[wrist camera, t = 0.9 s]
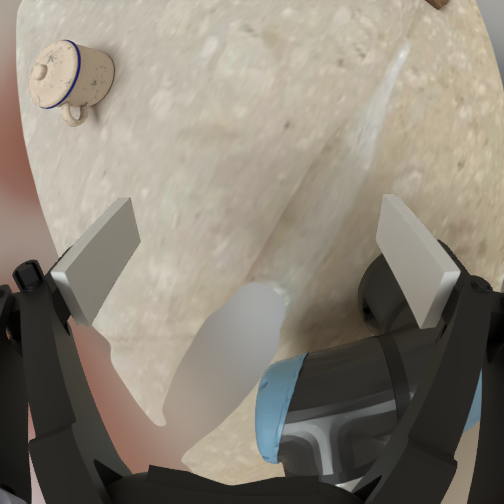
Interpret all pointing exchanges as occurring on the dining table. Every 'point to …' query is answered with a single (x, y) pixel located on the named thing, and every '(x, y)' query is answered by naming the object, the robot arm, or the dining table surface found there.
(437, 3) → the t block
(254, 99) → the dining table surface
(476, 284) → the robot arm
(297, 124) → the dining table surface
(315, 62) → the dining table surface
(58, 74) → the teacup with lid
